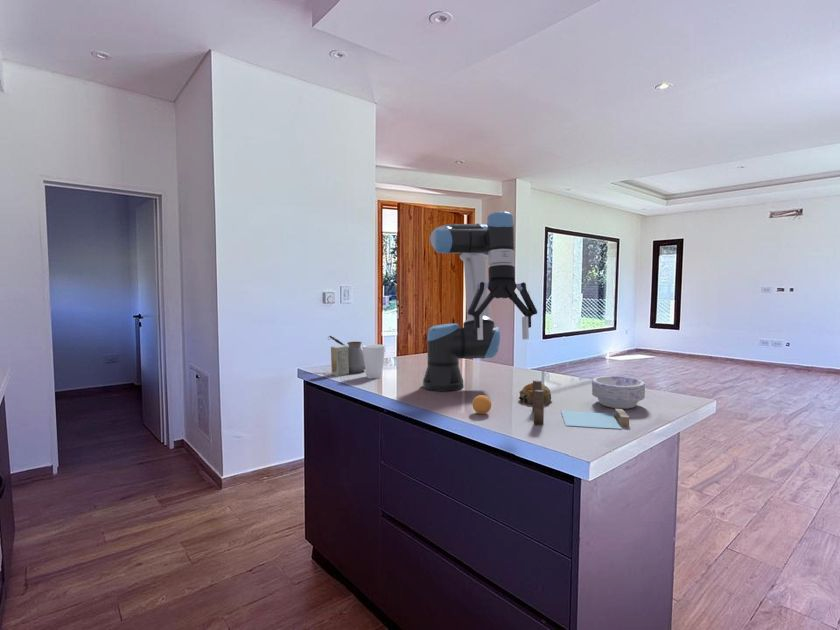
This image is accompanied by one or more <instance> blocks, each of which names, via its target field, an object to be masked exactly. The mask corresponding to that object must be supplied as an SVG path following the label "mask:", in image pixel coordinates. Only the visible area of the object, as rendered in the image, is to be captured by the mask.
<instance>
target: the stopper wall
mask: <svg viewBox="0 0 840 630" xmlns="http://www.w3.org/2000/svg"><path fill="white" fill-rule="evenodd" d="M614 419H615V420H616V421H617V423H618V424H619V426H620V427H630V416H629V415H628V414H627V413H626V411H625V410H624V409H617V408H614Z"/></svg>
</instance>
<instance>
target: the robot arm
mask: <svg viewBox="0 0 840 630" xmlns="http://www.w3.org/2000/svg"><path fill="white" fill-rule="evenodd" d="M514 230H515V224H514V216H513V214H512V213H510V212H508V211H495V212H492V213H490V214H489V215H488V216H487V223H486V224H484V223H447V224H443V225H440V226H437V227H436V228H434V229H433V230H432V231H431V233H430V236H429V243H430V246H431V247H432V248H433V249H434V251H435V252H436V253H438V254H444V255H445V254H459V259H460V260H461V261H463V267H464V268H463V269H464V270H463V271H464V284H465V285H464V287H465V304H466V305H465V306H466V320H465V321H464V322H463V323H462V324H463V327H460V324H459V323H445V324H444V323H443V324H437V325H433V326H430V327H429V329H428V330H427V338H426V341H427V367H426V370H425V373H424V375H423V379H422V387H423V389H425V390H430V391H435V392H436V391H437V392H451V391H452V392H453V391H458V390H462V389H463V388H464V378H463V375H462V373H461V369H460V365H459V363H460V362H459V361H460V359H463V360H464V359H468V360H469V359H482V360H485V359H493V358H495V357H496V356H497V354H498V352H499V348H500V342H501V341H500V340H501V330H500V328H499V327H498V326H495V321H494V319H492V318H491V317H490V303H491V302H492V301H493V300H494V299H509V300H511V302H512V303H513V304H514V305H515V306H516V308H517V309H518V310H519V311H520V312H521V313H522V315H523V316H522V317H521V325H522V326H521V331H522V336H521V337H522V340H529V339H530V337H529V335H530V333H529V329H530V328H531V327H532V316H534V315H537V314H538V310H537V307H536V305H535V303H534V302H533V299H532V298H531V296H530V294H529V292H528V290H527V284H526V282H524V281H523V282H520V283H516V267H515V266H514V265H515V231H514ZM487 265H488V266H489V267H488V269H487ZM487 270H488V274H487ZM516 289H517V291H519V294H520V296H521V298H522V299H523V300H521V299H520V298H519V296H518V295H517V292H516V291H515V290H516ZM522 301H523V302H522Z"/></svg>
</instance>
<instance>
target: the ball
mask: <svg viewBox="0 0 840 630" xmlns="http://www.w3.org/2000/svg"><path fill="white" fill-rule="evenodd" d="M471 405H472V408H473V410H474V411H475V412H476V413H477V414H479V415H486V414H487V413H489V412H490V410H491V408H492V401H491V399H490V398H489V396H487V395H485V394H479V395H477V396H475V397H474V399H473V400H472V404H471Z"/></svg>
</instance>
